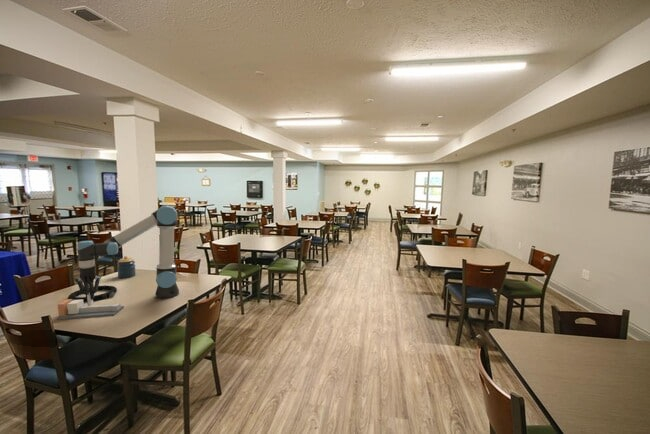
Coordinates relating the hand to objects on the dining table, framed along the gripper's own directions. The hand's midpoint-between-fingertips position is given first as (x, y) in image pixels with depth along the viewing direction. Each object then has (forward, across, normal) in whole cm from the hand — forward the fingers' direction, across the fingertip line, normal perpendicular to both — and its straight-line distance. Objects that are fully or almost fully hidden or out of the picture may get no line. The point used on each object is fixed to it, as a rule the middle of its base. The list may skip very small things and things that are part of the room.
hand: (90, 304), depth 178 cm
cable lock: (+6, +15, -33) cm, 37 cm away
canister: (+6, +14, -80) cm, 81 cm away
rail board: (+6, 0, 0) cm, 6 cm away
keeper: (+4, +8, 0) cm, 9 cm away
